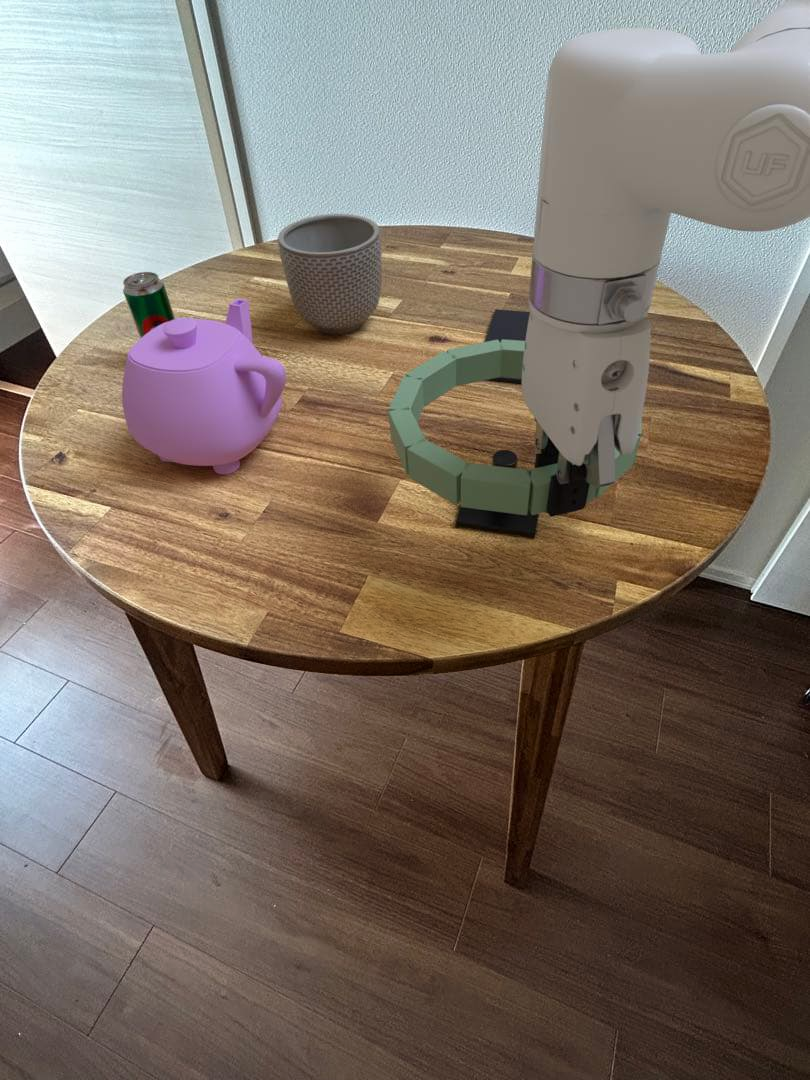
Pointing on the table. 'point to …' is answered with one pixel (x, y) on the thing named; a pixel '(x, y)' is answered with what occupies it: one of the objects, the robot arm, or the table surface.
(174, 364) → the teapot
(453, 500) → the hoop
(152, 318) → the soda can
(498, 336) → the mat
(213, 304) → the table surface
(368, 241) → the planter
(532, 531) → the post
